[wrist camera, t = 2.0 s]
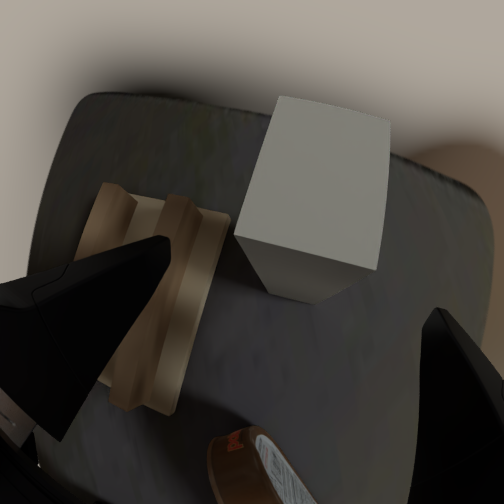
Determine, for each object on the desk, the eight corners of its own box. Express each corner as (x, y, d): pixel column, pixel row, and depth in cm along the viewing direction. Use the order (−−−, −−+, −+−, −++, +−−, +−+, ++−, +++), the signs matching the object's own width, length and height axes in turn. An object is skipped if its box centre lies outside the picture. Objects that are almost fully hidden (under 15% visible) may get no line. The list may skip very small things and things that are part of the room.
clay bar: (314, 305, 17) (376, 270, 5) (268, 293, 18) (233, 234, 6) (329, 245, 18) (390, 120, 6) (284, 234, 19) (279, 95, 7)
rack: (174, 412, 17) (149, 430, 13) (70, 356, 18) (36, 358, 14) (231, 219, 19) (217, 194, 15) (118, 195, 21) (91, 173, 17)
